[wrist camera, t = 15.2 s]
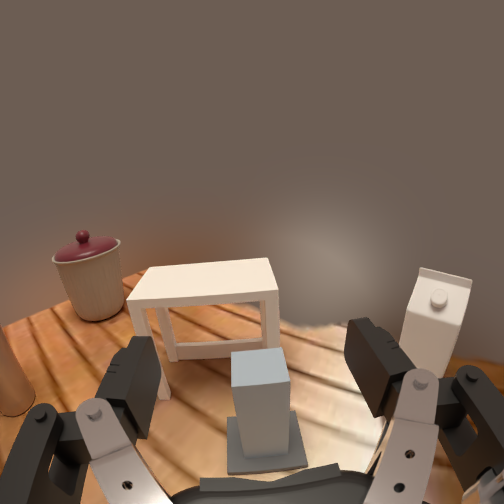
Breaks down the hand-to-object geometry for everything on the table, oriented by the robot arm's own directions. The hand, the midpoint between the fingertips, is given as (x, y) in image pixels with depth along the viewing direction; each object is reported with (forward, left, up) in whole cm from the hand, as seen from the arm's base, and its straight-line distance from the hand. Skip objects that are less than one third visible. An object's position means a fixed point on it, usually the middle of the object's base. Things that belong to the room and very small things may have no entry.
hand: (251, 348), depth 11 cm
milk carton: (+8, +26, -24) cm, 36 cm away
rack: (-20, +16, -24) cm, 35 cm away
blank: (-7, +9, -23) cm, 26 cm away
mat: (-7, +9, -24) cm, 27 cm away
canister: (-60, +14, -24) cm, 66 cm away
